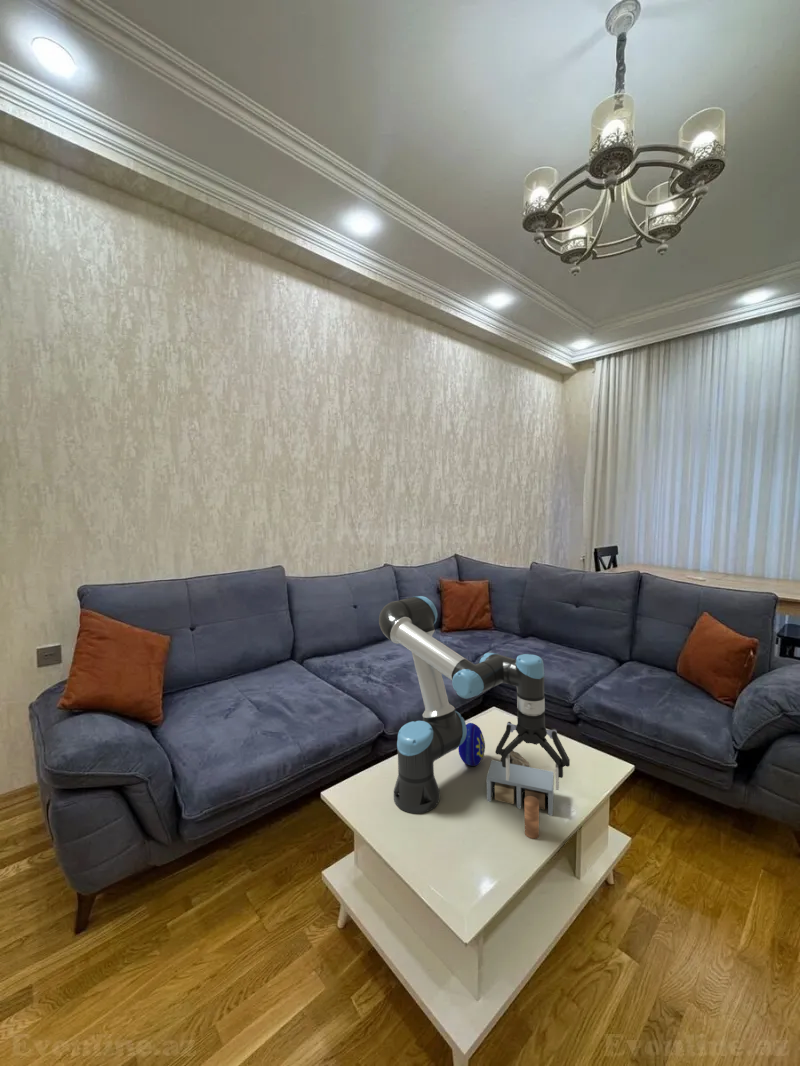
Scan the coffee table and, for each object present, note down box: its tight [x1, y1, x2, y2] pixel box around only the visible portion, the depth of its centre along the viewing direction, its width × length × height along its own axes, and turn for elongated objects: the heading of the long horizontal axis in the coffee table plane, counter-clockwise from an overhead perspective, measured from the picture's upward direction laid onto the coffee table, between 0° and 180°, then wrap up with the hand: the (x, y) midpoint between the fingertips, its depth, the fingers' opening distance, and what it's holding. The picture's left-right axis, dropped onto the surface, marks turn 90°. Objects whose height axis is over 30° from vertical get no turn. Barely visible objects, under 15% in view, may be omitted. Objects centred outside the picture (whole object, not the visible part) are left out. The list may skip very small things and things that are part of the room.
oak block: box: [494, 782, 517, 805], centre depth 141 cm, size 6×6×5 cm
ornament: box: [457, 722, 486, 767], centre depth 159 cm, size 11×9×15 cm
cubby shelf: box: [486, 759, 555, 817], centre depth 139 cm, size 20×10×8 cm, turn 68°
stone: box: [500, 749, 531, 767], centre depth 152 cm, size 7×12×7 cm, turn 33°
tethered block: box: [523, 788, 547, 840], centre depth 131 cm, size 6×20×10 cm, turn 158°
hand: (532, 782), depth 123 cm, fingers open, 13 cm apart
